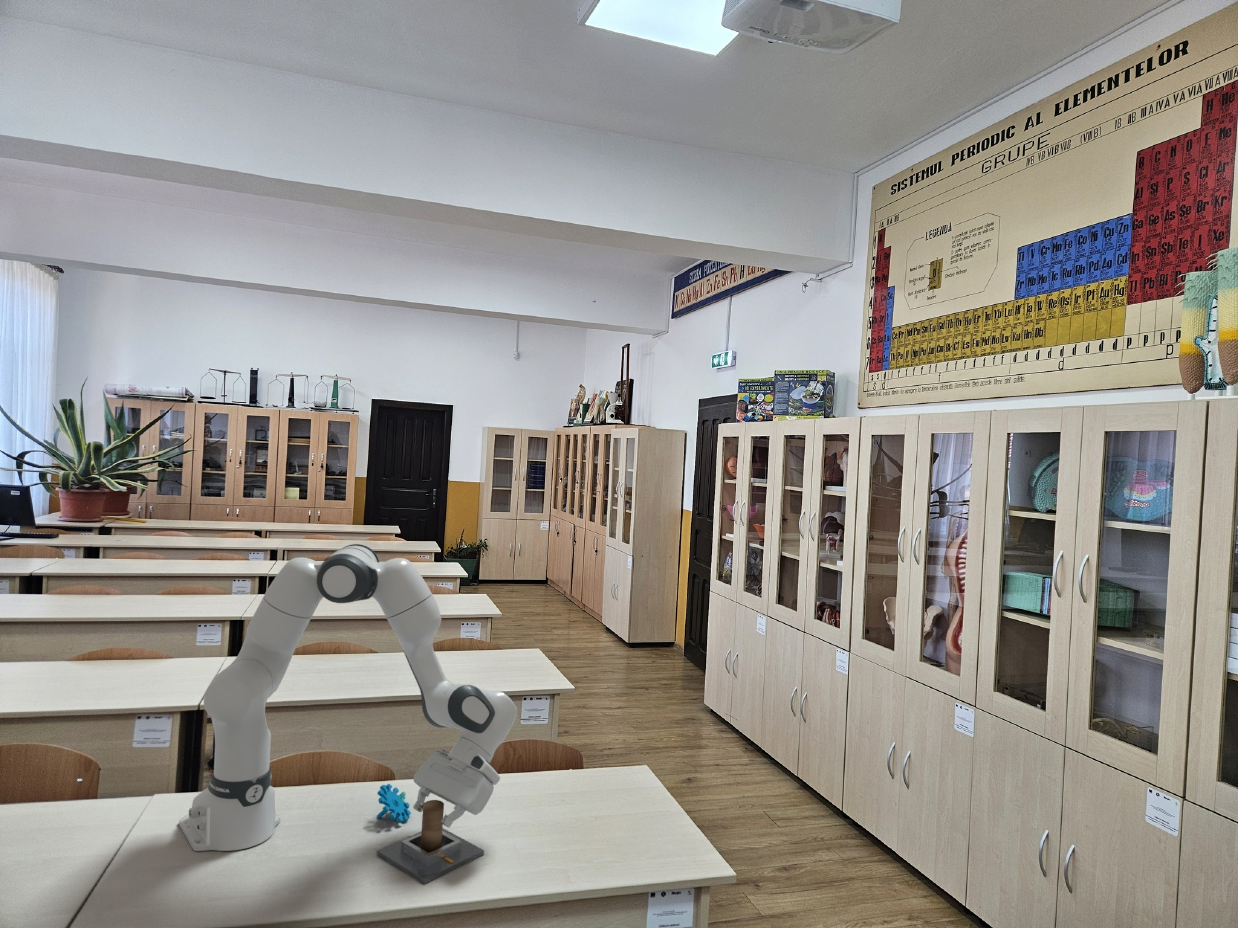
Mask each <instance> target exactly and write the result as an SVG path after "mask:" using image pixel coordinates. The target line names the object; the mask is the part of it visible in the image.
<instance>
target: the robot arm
mask: <svg viewBox="0 0 1238 928" xmlns="http://www.w3.org/2000/svg"><path fill="white" fill-rule="evenodd" d="M323 598H324V599H326V601H329V602H331V603H336V604H349V603H350V604H351V603H354V602H360V601H365V600H370V599H371V598H373V599H374V600H375V601H376V602H377V603H378V605H379V606H380V608H381V610H382V612H383V614H384V616H385V618H386V620H387V621H388V623H389V625H390V627H391V629H392V631H393V633H394V634H395V636H396V638H397V640H398V642H399V644H400V646H401V648H402V651H403V654H404V656H405V658H406V662H407V664H408V666H409V668H410V670H411V672H412V675H413V677H414V679H415V681H416V683H417V686H418V688H419V691H420V696H421V697H420V698H421V709H422V712H423V716H424V718H425V720H426V721H427V722H428V723H429V724H430V725H432V726H433V727H436V728H441V729H442V728H452V729H458V730H459V731H460V734H461V735H460V737H459V738H458V739H457V741H456V742H455V744H454V745H453V746H452V748H451V749H450V751H448V750H446V749H443V748H440V749H438V750H435V751H433V752H432V753H431V755H430V756H429V757H428V758H427V759H426V760H425V761H424V762H423V763H422V765H421V766H420V767H418V769H417V770H416V772H415V773H414V775H413V782H414V783H415V784H416V785H417V786H418V787H419V790H418V793H417V794H418V795H417V797H416V798H417V799H416V802H415V803H414V804H413V806H412V808H413V809H414V810H415V811H417V812H418V813H423V804H424V803H425V802H426V797H429V796H430V794H432V795H434V796H436V797H439V798H441V799H442V800H445V801H446V802H449V803H450V804H452V805H454V807H453V811H451V812H450V813H449V814H447V813H446V814H445V815H443V819H442V821H441V823H442V824H443V826H444V827H446V828H451V826H452V825H453V823H454V822H455V821H456V820H457V819H459V818H460V817H462V816H463V815H464V813H465V812H468V813H470V814H472V815H473V816H474V815H475V816H477V815H479V814H480V813H481V812H483V811H484V809H485V808H486V806H487V804H488V802H489V800H490V798H491V797H492V795H493V792H494V789H495V788H494V786H496V785H497V784H499V782H500V780H501V776H500V775H499V773H498V772H497V771H496V770H495V768H493V765H492V764H491V761H492V759H493V757H494V756H495V752H496V751H497V748H499V746H501V745H502V743H503V742H504V740H505V739H506V738H507V736H508V734H509V733H510V730H511V728H512V727H513V726H514V725H513V724H514V723H515V721H516V718H517V715H518V708H517V706H516V703H515V701H514V700H513V699H512V698H511V697H510V696H509V695H508V694H506V693H505V692H503V691H501V690H488V689H484V688H479V687H477V686H475V685H473V684H469V683H453V682H452V681H450V680H449V679H448V678H447V677H446V675H445V673H444V671H443V669H442V666H441V664H440V662H439V659H438V657H437V654H436V652H435V650H434V638H435V636H436V635H437V633H438V631H439V630H440V628H441V627H440V626H441V624H442V615H441V611H440V607H439V605H438V602H437V600H436V599H435V597H434V595H433V593H432V591H431V590H430V587H429V585H428V584H427V582H426V581H425V579H424V578H423V576H422V574H421V573H420V571H418V569H417V568H416V566H414V564H413V563H412V562H411V560H409V559H407V558H404V557H395V558H391V559H388V560H386V561H384V562H383V561H382V562H380V560H379V557H378V555H377V554H376V552H375V551H374V550H373V549H372V548H370V547H369V546H367V545H364V544H359V543H353V544H348V545H346V546H344V547H341V548H340V549H338V550H336V551H334V552H333V553H332V554H331V555H328V556H327V557H326V558H325V559H324V561H316V560H314V559H311V558H309V557H302V556H301V557H294V558H291V559H290V560H288V561H287V562H286V563H285V565H284V566H283V567H281V569H280V571H279V572H278V573H277V575H275V577H274V579H273V580H272V581H271V583H270V585H269V587H268V588H267V590H266V591H265V593H264V594H263V597H262V598H261V601H260V602H259V604H258V607H257V608H256V610H255V612H254V613H253V615H252V617H251V619H250V622H249V623H248V625H247V627H246V634H245V637H244V640H243V642H242V646H241V649H240V651H239V653H238V655H237V656H236V658H235V659H234V660H233V661H232V663H230V664H229V665H228V666H227V667H226V668H225V669H223V670H221V671H219V672H218V674H216V675H215V676H214V677H213V678H212V680H211V682H210V684H209V685H208V686H207V689H206V691H205V693H204V696H203V707H204V709H205V711H206V713H207V714H208V715H209V717H210V718H211V723H212V728H213V733H214V764H213V769H211V770H209V773H210V774H209V777H210V779H209V781H208V786H207V787H206V788H205V789H204V790H202V791H201V792H199V793H198V794H197V795H195V797H194V798H193V799H192V805H191V807H190V808H189V810H188V814H186V815H184V816H182V817H181V818H180V819H179V822H178V825H179V827H180V830H181V831H182V833H183V834H184V836H185V838H186V839H187V841H188V843H189V845H190V847H191V849H192V850H193V851H195V852H204V851H219V852H222V851H223V852H225V851H227V852H229V851H230V852H231V851H239V850H244V849H248V848H251V847H254V846H257V845H259V844H261V843H264V842H265V841H267V840H268V839H269V838H271V836H272V835H273V834H274V831H275V827H276V826H277V825H279V823H280V822H281V816H280V815H278V814H276V811H277V810H276V790H275V788H274V787H273V786H272V785H271V784H272V767H271V766H270V765H271V763H270V762H271V745H272V744H271V743H272V733H271V731H270V730H269V728H268V725H267V724H268V723H267V718H266V706H267V705H266V704H267V701H268V699H269V698H270V697H272V695H273V694H274V693H275V692H276V691H277V690H278V689H279V687H280V685H281V683H282V680H283V679H284V677H285V674H286V673H287V670H288V668H289V665H290V663H291V660H292V657H293V655H294V653H295V650H296V648H297V646H298V644H299V642H300V640H301V638H302V636H303V634H304V632H305V630H306V628H307V627H308V625H309V623H310V622H311V619H312V617H313V615H314V614H315V611H316V610H317V607H318V606H319V604H320V603H321V602H322V600H323Z"/></svg>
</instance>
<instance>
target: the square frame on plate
mask: <svg viewBox="0 0 1238 928" xmlns="http://www.w3.org/2000/svg"><path fill="white" fill-rule="evenodd" d="M421 832H422V830H421V831H419V832H416V833H414V834H412V835H409V836H406V837H405V838H402V839H400V840H398V841H395V842H394V843H391V844H388V845H386V846H384V847H382V848H379V849H377V850H376V856H377V857H379V858H381V859H382V860H384V861H386V863H387V862H388V863H389V864H390V865H392V866H394V867H395V868H397V869H398V870H401V871H402V872H403V873H405V874H407V875H409V876H410V877H411V878H413V879H415V880H417V881H418V882H420V883H422V884H423V885H426V884H429V883H430V882H432V881H434V880H436V879H438V878H440V877H443V876H444V875H446V874H448V873H450V872H452V871H454V870H456V869H458V868H460V867H462V866H464V865H466V864H468V863H470V862H472V861H474V860H476V859H478V858H480V857H482V856H483V855H484V854H485V850H484V849H482V848H481V847H478V846H476V845H475V844H473V843H472V842H470V841H467V840H466V839H464V838H462V837H460V836H458V835H456V834H455V833H453V832H451V831H449V830H447V829H445V828H444V827H443V828H442V845H441V848H439V849H437V850H435V851H433V852H430V853H428V852H426V851H424V850H422V849H421Z"/></svg>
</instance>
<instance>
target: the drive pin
mask: <svg viewBox="0 0 1238 928" xmlns="http://www.w3.org/2000/svg"><path fill="white" fill-rule="evenodd" d="M444 809H445V803H444V802H443V801H441V800H439V799H430V800H426V801H425V802H424V804H423V811H422V816H421V817H422V818H421V831H422V832H421V831H420V832H421V849H422V850H424V851H426V852H428V853H430V852H433V851H435V850H437V849H439V848H441V845H442V828H444V827H443V826H444V825H443V824H442V823H441V821H442V819H443V818H444V812H445V811H444Z"/></svg>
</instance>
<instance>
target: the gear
mask: <svg viewBox="0 0 1238 928" xmlns="http://www.w3.org/2000/svg"><path fill="white" fill-rule="evenodd" d="M399 792H400V789H399V788H398V787H396V786H395V787H394V788H393V785H392V784H390V783H387V784H382V785H380V786H379V790H378V791H377V793H376V794H377V796H379V798H378V799H377V800H378V803H379V804H380V805H384V806H383V807H382V810H381V811H380V812H379V813H378V814H377V815H376V816H377V818H378V819H381V818H382V817H383V816H384V815H386V814H387V813H388V812H391V813H390V814H389V816H388V817H389V818H390V819H391V820H392V821H394V820H395V819H396V822H397V823H398V824H401V823H402V822H404V823H405V822H408V820H409V816H410V815H411V814H412V812H411V811H410V810H409V808H410V803H409V802H406V801H405V799H406V796H407V794H406V792H405V791H402V792H401V793H399ZM398 793H399V794H398ZM396 817H397V818H396Z"/></svg>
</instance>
